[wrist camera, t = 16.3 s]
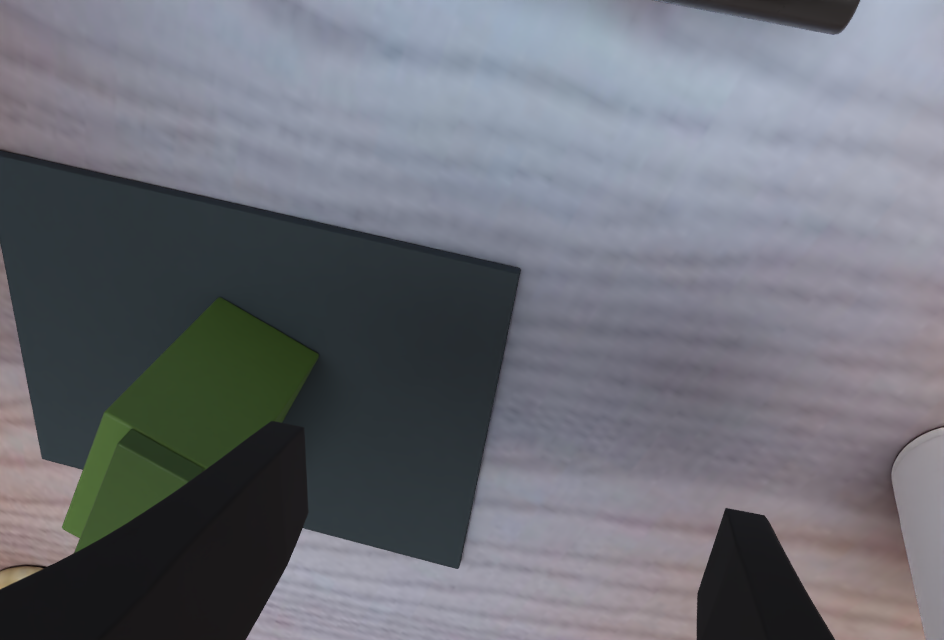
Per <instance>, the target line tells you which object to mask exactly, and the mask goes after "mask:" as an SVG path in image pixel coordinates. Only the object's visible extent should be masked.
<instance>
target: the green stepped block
mask: <svg viewBox="0 0 944 640" xmlns="http://www.w3.org/2000/svg"><path fill="white" fill-rule="evenodd" d="M318 358H319V354H318V353H316V352H314V351H313V350H311V349H309V348H307V347H306V346H304V345H302V344H301V343H299V342H297V341H295V340H294V339H292V338H290V337H288V336H287V335H285V334H283V333H282V332H280V331H278V330H276V329H275V328H273V327H271V326H269V325H268V324H266V323H264V322H263V321H261V320H259V319H257V318H256V317H254V316H252V315H250V314H249V313H247V312H245V311H244V310H242V309H240V308H238V307H237V306H235V305H233V304H232V303H230V302H228V301H226V300H225V299H223V298H221V297H219V298H217V299H216V300H215V301H214V302H213V303H212V304H211V305H210V306H209V307H208V308H207V309H206V310H205V311H204V312H203V313H202V314H201V315H200V316H199V317H198V318H197V319H196V320H195V321H194V322H193V323H192V324H191V325H190V326H189V327H188V328H187V329H186V330H185V331H184V332H183V333H182V334H181V335H180V336H179V337H178V338H177V339H176V340H175V341H174V342H173V343H172V344H171V345H170V346H169V347H168V348H167V349H166V351H165V352H164V353H163V354H162V355H161V356H160V357H159V358H158V359H157V360H156V361H155V362H154V363H153V364H152V365H151V366H150V367H149V368H148V369H147V370H146V371H145V372H144V373H143V374H142V375H141V376H140V377H139V378H138V379H137V380H136V381H135V382H134V383H133V384H132V385H131V386H130V387H129V388H128V389H127V390H126V391H125V392H124V393H123V394H122V395H121V396H120V397H119V398H118V399H117V400H116V401H115V402H114V403H113V404H112V405H111V406H110V407H109V408H108V409H107V410H106V411H105V412H104V414H103V417H102V420H101V422H100V425H99V428H98V431H97V433H96V436H95V439H94V441H93V444H92V447H91V450H90V452H89V455H88V458H87V460H86V463H85V466H84V469H83V471H82V474H81V477H80V479H79V482H78V485H77V488H76V490H75V493H74V496H73V499H72V501H71V504H70V507H69V509H68V512H67V515H66V518H65V520H64V523H63V526H62V528H63V529H64V530H65V531H67V532H69V533H71V534H73V535H75V536H76V537H78V538H80V540H79V542H78V545H77V547H76V550H75V552H74V553H76V552H77V551H79V550H81V549H83V548H85V547H87V546H88V545H90V544H92V543H94V542H96V541H98V540H99V539H101V538H103V537H105V536H106V535H108V534H110V533H111V532H113V531H115V530H116V529H118V528H120V527H121V526H123V525H125V524H126V523H128V522H129V521H131V520H132V519H134V518H136V517H137V516H139V515H140V514H142V513H143V512H145V511H146V510H148V509H149V508H151V507H152V506H154V505H156V504H157V503H159V502H160V501H162V500H163V499H165V498H166V497H168V496H169V495H171V494H172V493H173V492H175V491H176V490H178V489H179V488H181V487H182V486H183V485H185V484H186V483H188V482H189V481H190V480H192V479H193V478H195V477H196V476H197V475H199V474H200V473H202V472H203V471H204V470H206V469H207V468H208V467H210V466H211V465H213V464H214V463H215V462H217V461H218V460H219V459H221V458H222V457H223V456H225V455H226V454H227V453H229V452H230V451H231V450H233V449H234V448H235V447H237V446H238V445H239V444H241V443H242V442H243V441H245V440H246V439H247V438H249V437H250V436H251V435H253V434H254V433H255V432H257V431H258V430H259V429H261V428H262V427H264V426H265V425H266V424H268V423H269V422H271V421H275V422H280V423H282V422H283V420H284V418H285V416H286V415H287V413H288V411H289V409H290V408H291V406H292V404H293V402H294V400H295V399H296V397H297V395H298V393H299V391H300V390H301V388H302V386H303V384H304V383H305V381H306V379H307V377H308V375H309V374H310V372H311V370H312V368H313V366H314V365H315V363H316V361H317V359H318Z"/></svg>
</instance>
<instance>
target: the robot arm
mask: <svg viewBox="0 0 944 640" xmlns="http://www.w3.org/2000/svg"><path fill="white" fill-rule="evenodd" d="M308 513H309V512H308V491H307V471H306V451H305V431H304V427H301V426H296V425H291V424H285V423H280V422H275V421H271V422H269V423H268V424H266V425H265V426H264V427H262V428H261V429H259V430H258V431H257V432H255V433H254V434H253V435H251V436H250V437H249V438H247V439H246V440H245V441H243V442H242V443H241V444H239V445H238V446H237V447H235V448H234V449H233V450H231V451H230V452H229V453H227V454H226V455H225V456H223V457H222V458H221V459H219V460H218V461H217V462H215V463H214V464H213V465H211V466H210V467H208V468H207V469H206V470H204V471H203V472H202V473H200V474H199V475H197V476H196V477H195V478H193V479H192V480H190V481H189V482H188V483H186V484H185V485H183V486H182V487H181V488H179V489H178V490H176V491H175V492H173V493H172V494H171V495H169V496H168V497H166V498H165V499H163V500H162V501H160V502H159V503H157V504H156V505H154V506H152V507H151V508H149V509H148V510H146V511H145V512H143V513H142V514H140V515H139V516H137V517H136V518H134V519H132V520H131V521H129V522H128V523H126V524H125V525H123V526H121V527H120V528H118V529H116V530H115V531H113V532H111V533H110V534H108V535H106V536H105V537H103V538H101V539H99V540H98V541H96V542H94V543H92V544H90V545H88V546H87V547H85V548H83V549H81V550H79V551H77V552H76V553H74V554H72V555H70V556H68V557H66V558H64V559H62V560H60V561H59V562H57V563H55V564H52V565H50V566H48V567H46V568H44V569H42V570H40V571H38V572H36V573H33V574H31V575H29V576H27V577H25V578H23V579H21V580H19V581H16V582H14V583H12V584H10V585H8V586H6V587H4V588H2V589H0V640H246V638H247V636H248V635H249V633H250V631H251V629H252V628H253V626H254V624H255V622H256V620H257V619H258V617H259V615H260V613H261V612H262V610H263V608H264V606H265V605H266V603H267V601H268V599H269V597H270V596H271V594H272V592H273V590H274V588H275V587H276V585H277V583H278V581H279V579H280V578H281V576H282V574H283V572H284V570H285V568H286V566H287V565H288V562H289V560H290V557H291V555H292V553H293V550H294V548H295V546H296V543H297V541H298V538H299V536H300V533H301V531H302V528H303V526H304V523H305V520H306V518H307V515H308ZM697 640H835V639H834V637H833V635H832V634H831V632H830V630H829V629H828V627H827V625H826V624H825V622H824V620H823V619H822V617H821V616H820V614H819V612H818V611H817V609H816V607H815V606H814V604H813V602H812V600H811V599H810V597H809V595H808V594H807V592H806V590H805V588H804V587H803V585H802V583H801V581H800V579H799V577H798V576H797V574H796V572H795V570H794V568H793V567H792V565H791V563H790V561H789V559H788V557H787V555H786V554H785V552H784V550H783V548H782V546H781V544H780V542H779V540H778V538H777V536H776V534H775V532H774V530H773V528H772V526H771V524H770V523H769V521H768V520H767V518H766V517H765V516H764V515H760V514H754V513H749V512H744V511H739V510H734V509H728V508H726V509H725V512H724V515H723V518H722V521H721V524H720V527H719V530H718V533H717V536H716V539H715V542H714V545H713V548H712V551H711V554H710V557H709V560H708V563H707V566H706V569H705V572H704V575H703V578H702V581H701V584H700V587H699V590H698V597H697Z"/></svg>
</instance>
